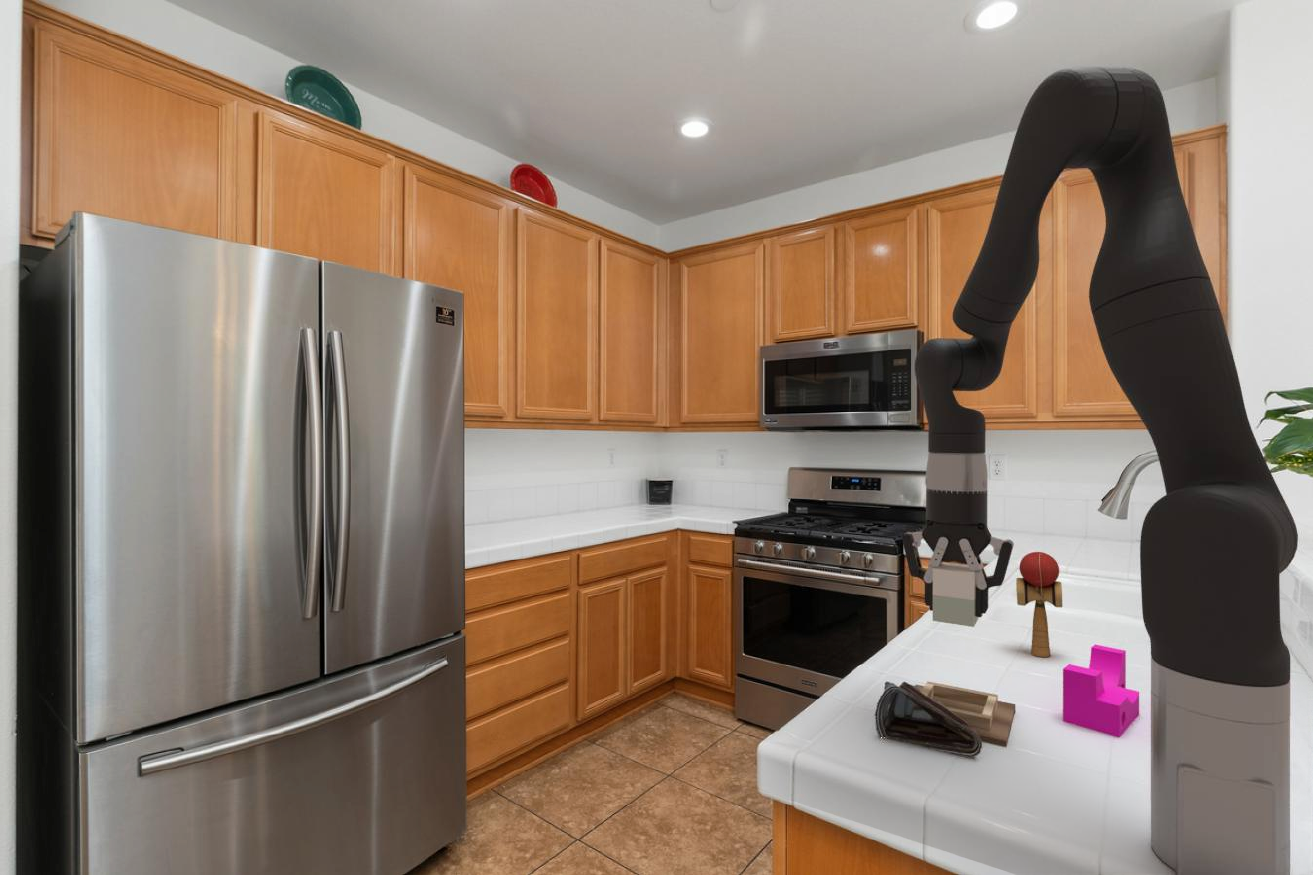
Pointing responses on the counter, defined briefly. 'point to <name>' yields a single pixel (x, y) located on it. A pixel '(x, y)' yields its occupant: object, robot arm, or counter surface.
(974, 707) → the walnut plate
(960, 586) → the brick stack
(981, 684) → the counter surface
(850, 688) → the counter surface
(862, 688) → the counter surface
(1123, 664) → the toy block
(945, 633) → the counter surface
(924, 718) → the chocolate cake
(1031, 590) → the kendama
